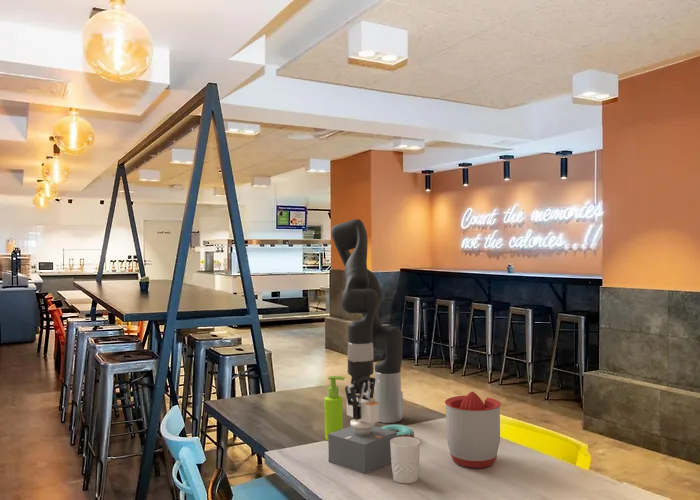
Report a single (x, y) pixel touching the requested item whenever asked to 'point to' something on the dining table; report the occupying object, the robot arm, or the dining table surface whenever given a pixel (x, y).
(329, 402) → the soap dispenser
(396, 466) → the white cup
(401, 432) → the donut
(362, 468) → the box
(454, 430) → the citrus juicer
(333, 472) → the dining table surface
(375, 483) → the dining table surface
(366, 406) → the wing knob
